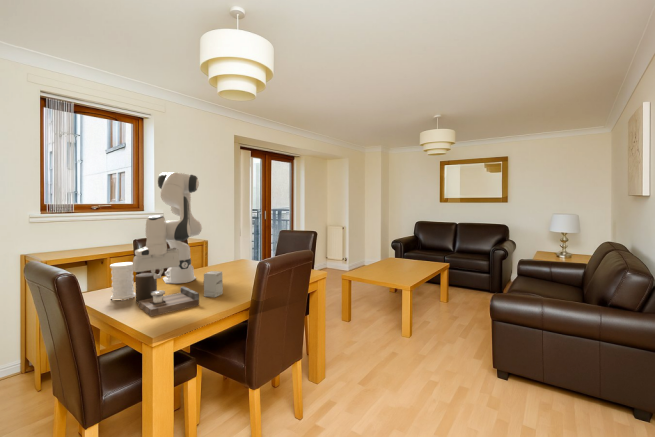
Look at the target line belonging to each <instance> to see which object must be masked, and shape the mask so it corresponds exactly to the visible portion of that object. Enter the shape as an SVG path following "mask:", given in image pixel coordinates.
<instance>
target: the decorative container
mask: <svg viewBox="0 0 655 437" xmlns="http://www.w3.org/2000/svg"><path fill="white" fill-rule="evenodd" d="M109 268H110V269H111V272H110V274H111V276H112V277H111V281H112V283H111V287H112V290H111V293H112V295H110V298H111V299H128V300H130V299H129V298H132V299H134V298H136V297H135V296H136V292H135V291H134V290H135V286H134V285H135V284H134V283H135V282H134V277H135V276H134V272H135V271H134V270H133V261H125V262H115V263H112V264H110V265H109ZM133 297H134V298H133ZM111 299H110V300H111Z"/></svg>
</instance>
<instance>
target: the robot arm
mask: <svg viewBox="0 0 655 437" xmlns="http://www.w3.org/2000/svg"><path fill="white" fill-rule="evenodd" d="M199 181H200V180H199V179H198V176H197V175H194V174H189V173H185V172H184V173H183V172H176V171H174V172H161V173H160V174H158V177H157V185H158V187H159V189H160V198H161V200H162V202H163V203H165V204H166V205H167V206H170V211H171V213H172V214H174V215H176V216H177V217H179V219H177V220H176V219H175V220H166V218H165V216H164V215H159V214H158V215H157V214H156V215H155V214H154V215H150V216H148V217H146V220H145V221H146V222H145V237H146V241H145V246H143V247H141V248H137V249H135V250H134V255H135V256H134V257H133V259H132V262H133V270H134V271H133V272H135V273H140V272H147V271H150V273H152V274H153V275H154V279H157V280H158V279H162V280H163V281H164V283H165V284H184V283H191V282H192V281H194V280H196V279H197V277H196V276H195V273H194V272H195V271H194V270H195V269H194V266H193V265H192V259H191V247H190V245H189V244H188V243H186V240H188V239H189V238H192V237H196V236H199V235H200V234H201V233H202V229H203V227H202V223H201V222H200V221H199V220H197V219H196V218H195V217H194V215H193V214H192V211H191V208H192V207H191V202H192V201H191V200H192V199H191V198H192V197H191V194H192V193H195V192H197V191H198V188H199V184H200V182H199ZM167 244H168V246H169V248H168V246H167ZM164 269H167V270H166V271H165V270H164ZM156 270H158V271H159V272H158V274H157V273H156ZM155 273H156V274H155ZM163 273H164V277H162V274H163Z"/></svg>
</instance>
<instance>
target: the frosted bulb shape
mask: <svg viewBox="0 0 655 437" xmlns="http://www.w3.org/2000/svg"><path fill="white" fill-rule="evenodd" d="M165 294H166V290H158V289H157V291H153V292H151V295H152V296H153V305H156V304H161V303H164V302H163V296H165Z"/></svg>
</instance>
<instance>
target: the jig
mask: <svg viewBox="0 0 655 437" xmlns="http://www.w3.org/2000/svg"><path fill="white" fill-rule="evenodd" d="M163 302H164V303H161V304H156V305H153V298H151V299H146V300H141V301H139V303H138V308H139V309H141V310H142V311H143V310H144V312H145V313H146V314H147V313H148V314H147V315H149V316H150V317H154V316H158V315H163V314H166V313H171V312H175V311H176V312H177V311H179V310H184V309H188V308H193V307H197V306H199V305H200V292H197V291H195V290H192V289H191V288H188V287H187V286H180V292H177V293H172V294H167V295H163Z"/></svg>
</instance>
